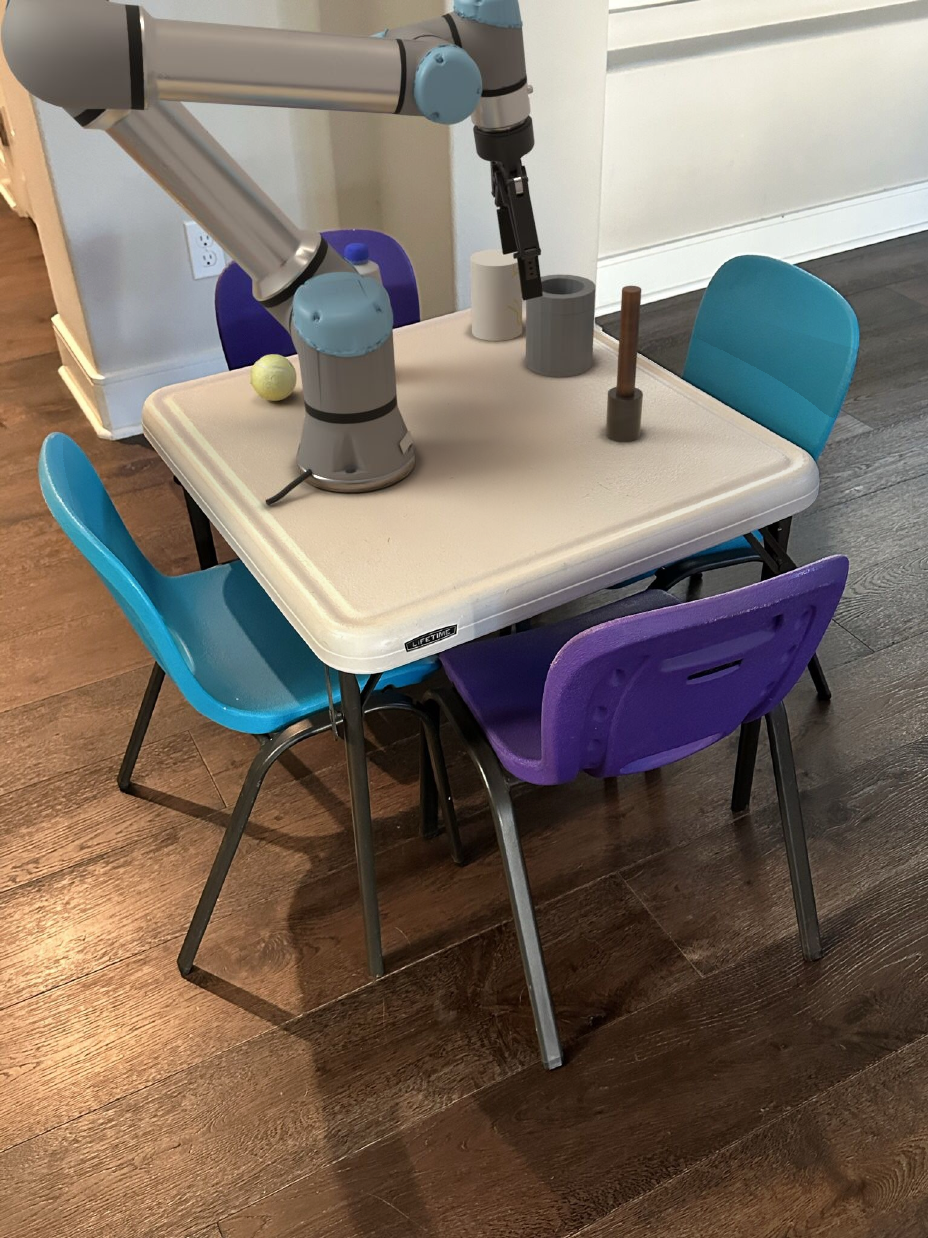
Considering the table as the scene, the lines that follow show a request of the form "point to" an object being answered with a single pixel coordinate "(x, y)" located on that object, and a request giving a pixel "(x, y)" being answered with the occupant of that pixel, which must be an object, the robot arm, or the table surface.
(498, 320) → the cream marbled cylinder
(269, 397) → the tennis ball
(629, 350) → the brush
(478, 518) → the table surface
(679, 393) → the table surface
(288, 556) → the table surface
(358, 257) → the bottle
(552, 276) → the grey thick-walled tube
